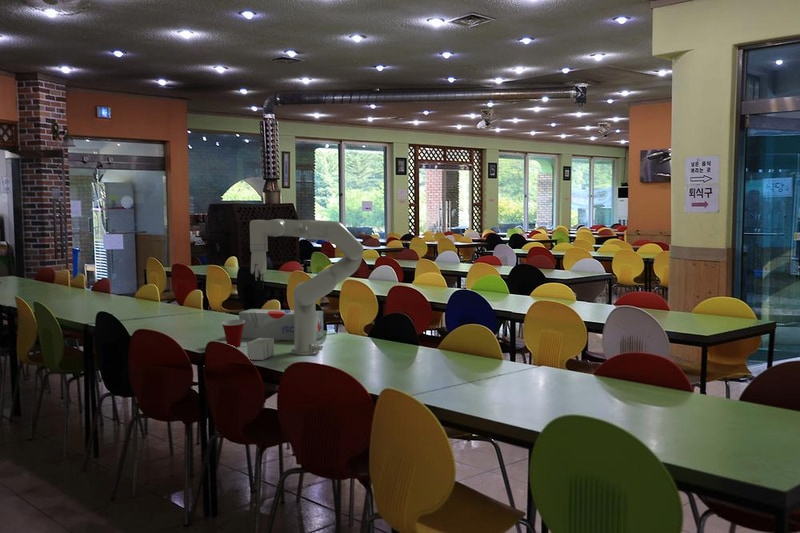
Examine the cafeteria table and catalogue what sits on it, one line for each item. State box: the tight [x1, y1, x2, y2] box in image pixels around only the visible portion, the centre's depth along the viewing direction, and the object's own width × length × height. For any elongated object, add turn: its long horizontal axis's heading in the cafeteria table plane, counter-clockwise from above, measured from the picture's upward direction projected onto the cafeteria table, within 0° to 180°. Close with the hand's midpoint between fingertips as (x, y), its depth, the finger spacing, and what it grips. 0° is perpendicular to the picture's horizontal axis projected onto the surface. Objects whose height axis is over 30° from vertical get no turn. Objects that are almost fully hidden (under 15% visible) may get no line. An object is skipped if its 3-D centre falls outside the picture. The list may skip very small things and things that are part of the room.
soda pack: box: [238, 308, 324, 342], centre depth 376 cm, size 41×13×14 cm, turn 74°
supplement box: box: [246, 338, 275, 361], centre depth 327 cm, size 7×7×13 cm
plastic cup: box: [220, 319, 245, 348], centre depth 353 cm, size 11×11×12 cm
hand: (259, 289), depth 334 cm, fingers closed
